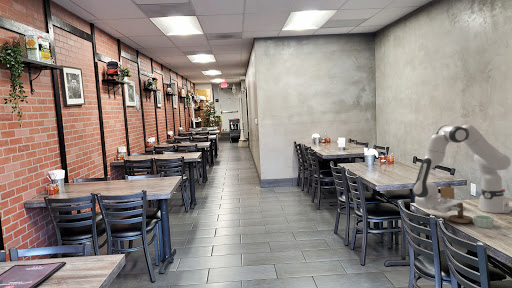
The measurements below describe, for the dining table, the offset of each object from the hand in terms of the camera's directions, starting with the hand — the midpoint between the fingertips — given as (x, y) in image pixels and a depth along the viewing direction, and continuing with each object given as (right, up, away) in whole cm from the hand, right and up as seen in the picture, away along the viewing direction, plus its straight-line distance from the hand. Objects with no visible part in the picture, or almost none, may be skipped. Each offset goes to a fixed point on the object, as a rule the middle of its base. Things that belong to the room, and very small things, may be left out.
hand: (461, 208), depth 216 cm
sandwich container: (+13, -5, +39) cm, 41 cm away
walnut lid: (0, -7, +1) cm, 7 cm away
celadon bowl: (+9, -8, -7) cm, 14 cm away
